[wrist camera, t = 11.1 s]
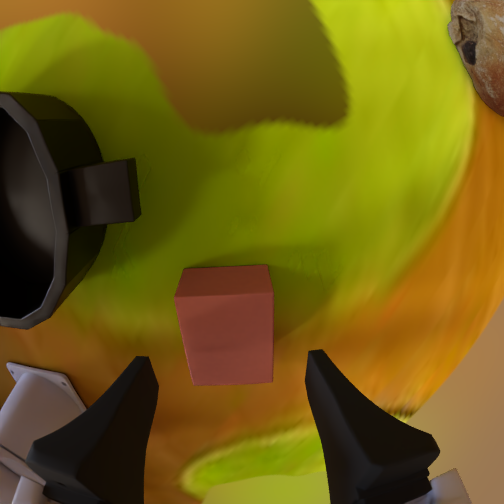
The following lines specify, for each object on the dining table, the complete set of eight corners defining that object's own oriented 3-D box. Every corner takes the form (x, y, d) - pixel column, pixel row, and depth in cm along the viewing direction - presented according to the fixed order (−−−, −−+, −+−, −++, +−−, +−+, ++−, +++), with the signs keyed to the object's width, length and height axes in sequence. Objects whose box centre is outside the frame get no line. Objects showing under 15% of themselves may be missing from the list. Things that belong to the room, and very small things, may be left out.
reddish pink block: (267, 348, 18) (272, 382, 15) (197, 351, 18) (193, 385, 15) (267, 264, 16) (274, 292, 13) (183, 268, 15) (173, 297, 13)
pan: (171, 288, 16) (153, 338, 12) (-21, 287, 15) (-52, 316, 11) (150, 57, 11) (117, 29, 7) (-50, 138, 10) (-90, 148, 6)
